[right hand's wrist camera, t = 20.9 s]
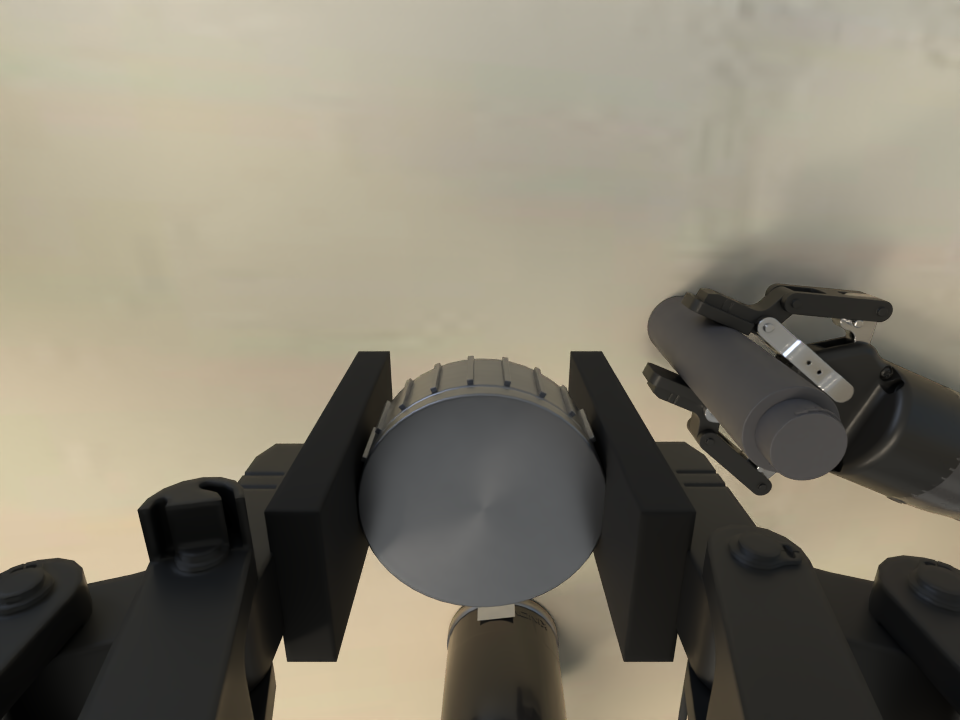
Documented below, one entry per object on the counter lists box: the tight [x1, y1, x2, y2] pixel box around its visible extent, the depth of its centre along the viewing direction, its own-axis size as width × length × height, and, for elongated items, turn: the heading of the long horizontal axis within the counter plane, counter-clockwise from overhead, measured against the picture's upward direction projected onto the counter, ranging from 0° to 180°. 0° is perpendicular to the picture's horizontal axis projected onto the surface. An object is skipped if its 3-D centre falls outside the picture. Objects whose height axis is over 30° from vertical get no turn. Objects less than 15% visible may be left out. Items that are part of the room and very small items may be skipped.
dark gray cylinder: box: [648, 296, 847, 480], centre depth 32 cm, size 4×4×18 cm
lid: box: [357, 356, 606, 607], centre depth 11 cm, size 5×5×2 cm
